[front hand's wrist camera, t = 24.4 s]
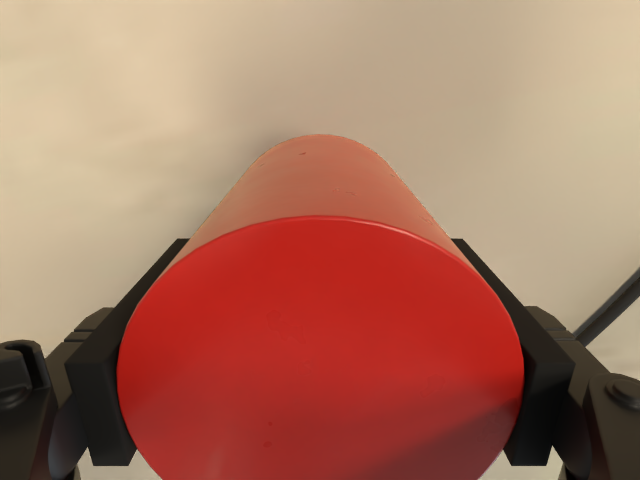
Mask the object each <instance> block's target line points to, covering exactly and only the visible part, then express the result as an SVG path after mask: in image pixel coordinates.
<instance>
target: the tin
mask: <svg viewBox="0 0 640 480" xmlns="http://www.w3.org/2000/svg"><path fill="white" fill-rule="evenodd" d="M524 383H525V380H524V360H523V355H522V350H521V346H520V341H519V337H518V334H517V332H516V330H515V327H514V325H513V322H512V320H511V317H510V315H509V313H508V312H507V310H506V309H505V307H504V305H503V304H502V302H501V301H500V299H499V297H498V296H497V294H496V293H495V292H494V291H493V289H492V288H491V287H490V286H489V285H488V283H487V282H486V281H485V280H484V279H483V277H482V276H481V275H480V274H479V273H478V271H477V270H476V269H475V268H474V267H473V265H472V264H471V263H470V262H469V261H468V259H467V258H466V257H465V256H464V255H463V253H462V252H461V251H460V250H459V249H458V247H457V246H456V245H455V244H454V243H453V241H452V240H451V239H450V238H449V237H448V235H447V234H446V233H445V232H444V231H443V229H442V228H441V227H440V226H439V225H438V223H437V222H436V221H435V220H434V219H433V217H432V216H431V215H430V214H429V213H428V211H427V210H426V209H425V208H424V207H423V205H422V204H421V203H420V202H419V201H418V199H417V198H416V197H415V196H414V195H413V193H412V192H411V191H410V190H409V189H408V187H407V186H406V185H405V184H404V183H403V181H402V180H401V179H400V178H399V177H398V175H397V174H396V173H395V172H394V171H393V169H392V168H391V167H390V166H389V165H388V164H387V162H386V161H385V160H384V159H382V158H381V157H380V156H379V155H378V154H377V153H375V152H374V151H372V150H371V149H369V148H368V147H366V146H364V145H362V144H360V143H358V142H356V141H353V140H350V139H347V138H344V137H339V136H334V135H320V134H317V135H306V136H301V137H297V138H293V139H290V140H287V141H285V142H282V143H280V144H278V145H276V146H275V147H273V148H271V149H269V150H268V151H267V152H265V153H264V154H263V155H261V156H260V157H259V158H258V159H257V160H256V161H255V162H254V163H253V164H252V165H251V166H250V167H249V169H248V170H247V171H246V172H245V173H244V175H243V176H242V177H241V178H240V179H239V181H238V182H237V183H236V184H235V185H234V187H233V188H232V189H231V190H230V192H229V193H228V194H227V195H226V196H225V198H224V199H223V200H222V201H221V202H220V204H219V205H218V206H217V207H216V208H215V210H214V211H213V212H212V213H211V214H210V216H209V217H208V218H207V219H206V220H205V222H204V223H203V224H202V225H201V226H200V228H199V229H198V230H197V231H196V233H195V234H194V235H193V236H192V237H191V239H190V240H189V241H188V242H187V243H186V245H185V246H184V247H183V248H182V249H181V251H180V252H179V253H178V254H177V255H176V257H175V258H174V259H173V260H172V261H171V263H170V264H169V265H168V266H167V267H166V269H165V270H164V271H163V272H162V274H161V275H160V276H159V277H158V278H157V280H156V281H155V282H154V283H153V284H152V286H151V287H150V288H149V290H148V291H147V292H146V294H145V295H144V296H143V298H142V299H141V300H140V302H139V303H138V305H137V307H136V308H135V310H134V312H133V314H132V316H131V318H130V320H129V322H128V324H127V326H126V329H125V332H124V335H123V338H122V341H121V344H120V349H119V355H118V362H117V394H118V399H119V405H120V410H121V414H122V416H123V419H124V422H125V425H126V427H127V430H128V432H129V434H130V436H131V438H132V440H133V442H134V444H135V445H136V447H137V449H138V451H139V452H140V453H141V455H142V456H143V458H144V459H145V460H146V462H147V463H148V464H149V466H150V467H151V468H152V469H153V470H154V471H155V472H156V473H157V474H158V475H159V476H160V477H161V479H162V480H478V479H479V478H480V477H482V476H483V474H484V473H485V472H486V471H487V470H488V469H489V467H490V466H491V465H492V464H493V463H494V462H495V460H496V459H497V458H498V456H499V455H500V453H501V451H502V450H503V448H504V447H505V445H506V444H507V442H508V440H509V438H510V436H511V434H512V431H513V429H514V427H515V425H516V423H517V419H518V416H519V412H520V409H521V405H522V400H523V391H524Z"/></svg>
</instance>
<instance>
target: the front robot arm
mask: <svg viewBox="0 0 640 480" xmlns="http://www.w3.org/2000/svg"><path fill="white" fill-rule="evenodd" d="M189 240H190V239H177V240H176V241H175V242H174V243H173V244H172V245H171V246H170V247H169V248H168V250H167V251H166V252H165V253H164V254H163V255H162V256H161V257H160V258H159V259H158V261H157V262H156V263H155V264H154V265H153V266H152V267H151V268H150V269H149V270H148V271H147V273H146V274H145V275H144V276H143V277H142V278H141V279H140V280H139V281H138V282H137V284H136V285H135V286H134V287H133V288H132V289H131V290H130V291H129V292H128V293H127V295H126V296H125V297H124V298H123V299H122V300H121V301H120V302H119V303H118V304H117V306H116V307H115V308H102V309H100V310H98V311H97V312H95V313H93V314H92V315H90V316H88V317H86V318H85V319H84V320H83V321H82V322H81V323H80V324H79V325H78V326H77V327H76V328H75V329H74V332H71V333H70V334H69V335H68V336H67V337H66V338H65V339H64V342H61V343H60V344H59V345H58V346H57V347H56V348H55V349H54V350H53V351H52V352H51V353H50V354H49V355H48V356H47V358H46V359H44V356H43V353H42V350H41V346H40V345H39V344H38V343H36V342H35V341H30V340H15V341H7V342H4V343H0V480H81V478H80V472H79V469H78V465H77V463H78V461H79V459H80V458H81V456H82V455H83V453H84V452H85V450H86V449H87V447H88V449H89V452H90V456H91V459H92V463H93V466H129V464H130V462H131V460H132V458H133V456H134V454H135V452H136V450H137V447H136V445H135V444H134V442H133V440H132V438H131V436H130V434H129V432H128V430H127V427H126V425H125V422H124V419H123V416H122V414H121V410H120V405H119V399H118V394H117V362H118V355H119V349H120V344H121V341H122V338H123V335H124V332H125V329H126V326H127V324H128V322H129V320H130V318H131V316H132V314H133V312H134V310H135V308H136V307H137V305H138V303H139V302H140V300H141V299H142V298H143V296H144V295H145V294H146V292H147V291H148V290H149V288H150V287H151V286H152V284H153V283H154V282H155V281H156V280H157V278H158V277H159V276H160V275H161V274H162V272H163V271H164V270H165V269H166V267H167V266H168V265H169V264H170V263H171V261H172V260H173V259H174V258H175V257H176V255H177V254H178V253H179V252H180V251H181V249H182V248H183V247H184V246H185V245H186V243H187V242H188V241H189ZM451 240H452V241H453V243H454V244H455V245H456V246H457V247H458V249H459V250H460V251H461V252H462V253H463V255H464V256H465V257H466V258H467V259H468V261H469V262H470V263H471V264H472V265H473V267H474V268H475V269H476V270H477V271H478V273H479V274H480V275H481V276H482V277H483V279H484V280H485V281H486V282H487V283H488V285H489V286H490V287H491V288H492V289H493V291H494V292H495V293H496V294H497V296H498V297H499V299H500V301H501V302H502V304H503V305H504V307H505V309H506V310H507V312H508V313H509V315H510V317H511V320H512V322H513V325H514V327H515V330H516V332H517V334H518V337H519V341H520V346H521V350H522V355H523V360H524V380H525V383H524V391H523V400H522V405H521V409H520V412H519V416H518V419H517V423H516V425H515V427H514V429H513V431H512V434H511V436H510V438H509V440H508V442H507V444H506V445H505V447H504V448H503V450H504V452H505V454H506V456H507V458H508V460H509V462H510V464H511V466H546V465H547V461H548V458H549V455H550V451H551V448H552V445H553V447H554V448H555V450H556V452H557V453H558V455H559V456H560V458H561V459H562V461H563V465H562V469H561V472H560V475H559V478H558V480H640V381H639V380H637V379H634V378H631V377H628V376H625V375H622V374H615V373H610V372H609V371H608V370H607V369H606V368H605V367H604V366H603V365H602V364H601V363H600V362H599V361H598V360H597V359H596V358H595V357H594V356H593V355H592V354H591V353H590V352H589V351H588V350H587V349H586V348H585V347H586V346H587V345H588V344H589V343H590V342H591V341H592V340H593V339H594V338H596V337H597V336H598V335H599V334H600V333H601V332H602V331H603V330H604V329H605V328H607V327H608V326H609V325H610V324H611V323H612V322H613V321H614V320H615V319H616V318H617V317H618V316H619V315H621V314H622V313H623V312H624V311H625V310H626V309H627V308H628V307H629V306H630V305H631V304H632V303H633V302H634V301H635V300H636V299H637V298H638V297H639V296H640V277H639V278H638V279H637V280H636V281H635V282H634V283H633V284H632V285H631V286H630V287H629V288H628V289H627V290H626V291H625V292H624V293H623V294H622V295H621V296H620V297H619V298H618V299H617V300H616V301H615V302H614V303H613V304H612V305H611V306H610V307H609V308H608V309H607V310H605V311H604V312H603V313H602V314H601V315H600V316H599V317H598V318H597V319H596V320H595V321H594V322H593V323H592V324H591V325H590V326H588V327H587V328H586V329H585V330H584V331H583V332H582V333H581V334H580V335H579V336H578V337H577V338H575V337H574V336H573V335H572V334H571V333H570V332H569V331H566V328H565V327H564V326H563V325H562V324H561V323H560V322H559V321H558V320H557V319H556V318H555V317H554V316H552V315H551V314H549V313H547V312H546V311H544V310H542V309H540V308H539V307H537V306H523V305H522V304H521V303H520V301H519V300H518V299H517V298H516V297H515V296H514V295H513V294H512V293H511V292H510V290H509V289H508V288H507V287H506V286H505V285H504V284H503V283H502V282H501V281H500V279H499V278H498V277H497V276H496V275H495V274H494V273H493V272H492V271H491V270H490V269H489V267H488V266H487V265H486V264H485V263H484V262H483V261H482V260H481V259H480V258H479V256H478V255H477V254H476V253H475V252H474V251H473V250H472V249H471V248H470V247H469V245H468V244H467V243H466V242H465V241H464V240H463V239H451Z"/></svg>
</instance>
